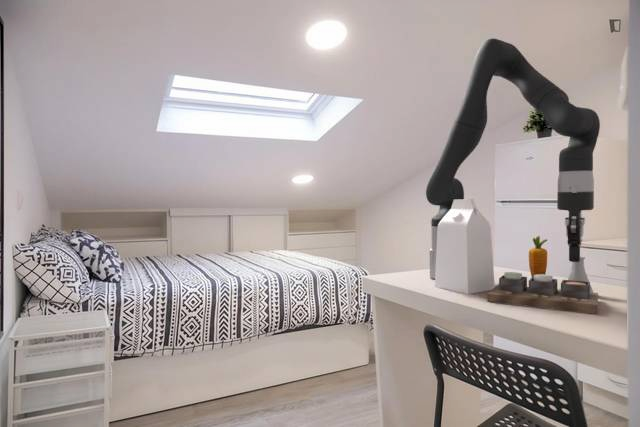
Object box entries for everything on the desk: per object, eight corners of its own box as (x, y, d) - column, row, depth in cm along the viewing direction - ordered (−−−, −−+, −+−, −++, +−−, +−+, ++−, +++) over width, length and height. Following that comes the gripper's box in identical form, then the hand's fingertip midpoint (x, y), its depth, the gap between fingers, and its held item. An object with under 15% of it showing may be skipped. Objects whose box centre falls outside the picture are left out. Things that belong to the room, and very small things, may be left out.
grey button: (532, 283, 104) (532, 276, 104) (535, 280, 107) (535, 273, 107) (551, 285, 101) (551, 277, 101) (553, 282, 105) (553, 275, 105)
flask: (599, 294, 110) (599, 256, 109) (587, 298, 105) (587, 259, 105) (569, 289, 115) (569, 254, 115) (557, 293, 111) (557, 256, 111)
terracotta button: (564, 291, 100) (564, 284, 100) (566, 288, 103) (566, 281, 103) (585, 293, 98) (585, 285, 97) (586, 290, 101) (586, 282, 101)
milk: (494, 288, 118) (494, 198, 118) (467, 294, 112) (466, 199, 112) (461, 282, 129) (460, 199, 128) (434, 286, 123) (433, 199, 122)
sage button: (502, 280, 108) (502, 274, 108) (506, 278, 111) (506, 271, 111) (520, 282, 105) (520, 275, 105) (523, 279, 109) (523, 272, 109)
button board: (487, 301, 104) (487, 281, 103) (498, 291, 115) (498, 273, 115) (597, 314, 91) (597, 291, 90) (598, 300, 102) (598, 280, 102)
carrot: (534, 284, 123) (534, 234, 122) (551, 287, 119) (551, 235, 118) (525, 287, 120) (524, 235, 120) (542, 289, 116) (541, 236, 116)
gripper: (559, 191, 107) (559, 257, 108) (554, 190, 96) (554, 263, 97) (594, 190, 103) (593, 259, 104) (593, 189, 92) (592, 266, 93)
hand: (574, 261), depth 100 cm, fingers closed
